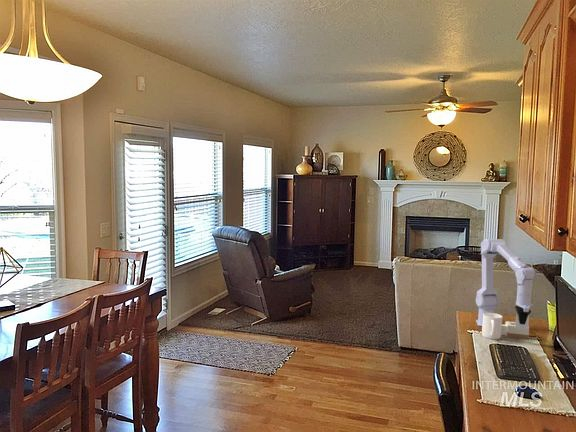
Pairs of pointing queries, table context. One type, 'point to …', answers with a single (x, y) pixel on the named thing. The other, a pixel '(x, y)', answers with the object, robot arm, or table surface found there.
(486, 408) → the table surface
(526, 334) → the slotted upright plate
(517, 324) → the white upright block
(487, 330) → the mug
